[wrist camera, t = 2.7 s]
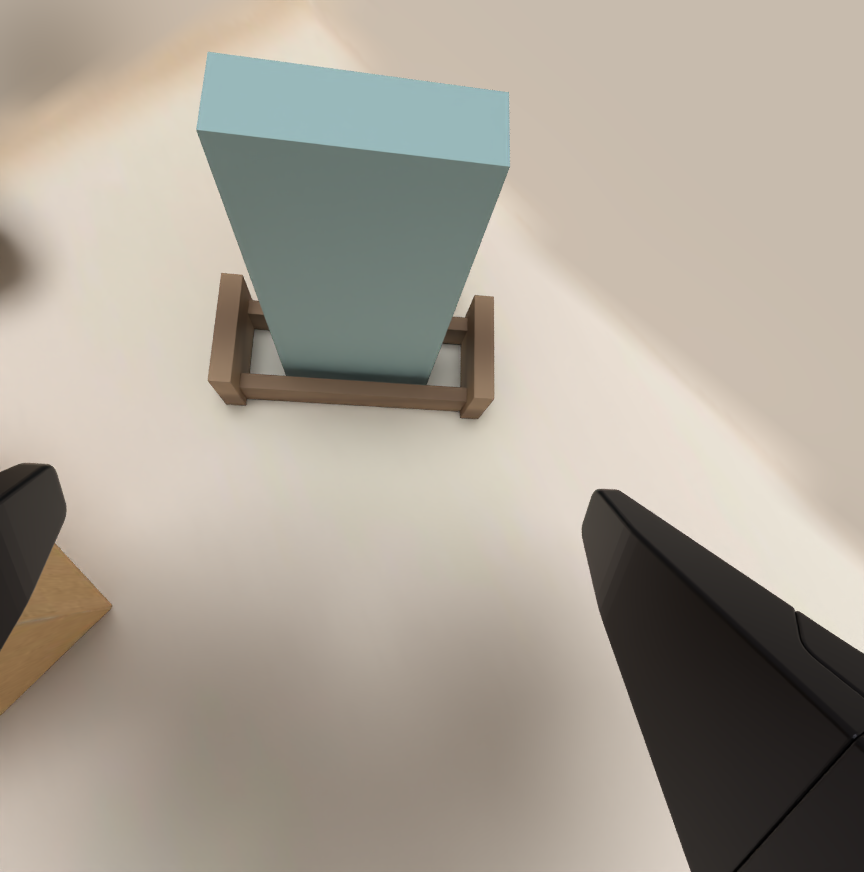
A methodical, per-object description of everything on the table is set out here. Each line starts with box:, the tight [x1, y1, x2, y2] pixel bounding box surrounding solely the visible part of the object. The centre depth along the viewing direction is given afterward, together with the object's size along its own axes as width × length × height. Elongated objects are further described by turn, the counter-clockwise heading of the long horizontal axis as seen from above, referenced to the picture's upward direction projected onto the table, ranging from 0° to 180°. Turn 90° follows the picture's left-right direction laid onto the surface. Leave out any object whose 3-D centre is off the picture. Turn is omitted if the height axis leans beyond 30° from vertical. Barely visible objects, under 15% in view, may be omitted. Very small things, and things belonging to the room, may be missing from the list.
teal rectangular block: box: [196, 52, 510, 385], centre depth 18 cm, size 2×6×14 cm, turn 89°
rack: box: [208, 273, 494, 419], centre depth 23 cm, size 4×11×3 cm, turn 89°
